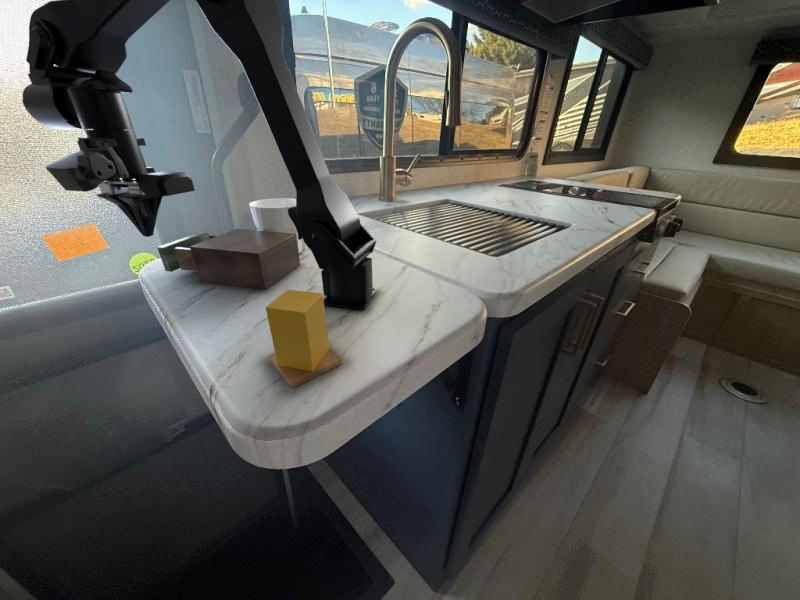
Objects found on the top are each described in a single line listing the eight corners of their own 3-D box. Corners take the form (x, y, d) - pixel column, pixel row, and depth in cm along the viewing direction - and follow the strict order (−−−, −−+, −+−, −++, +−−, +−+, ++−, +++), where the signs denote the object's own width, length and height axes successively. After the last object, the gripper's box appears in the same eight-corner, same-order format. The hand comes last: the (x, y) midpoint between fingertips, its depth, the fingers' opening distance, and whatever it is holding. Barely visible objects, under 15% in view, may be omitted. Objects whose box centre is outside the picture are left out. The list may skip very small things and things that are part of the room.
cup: (273, 242, 71) (265, 197, 66) (316, 245, 70) (310, 199, 65) (249, 257, 62) (238, 206, 58) (296, 260, 61) (289, 209, 56)
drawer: (159, 270, 53) (150, 246, 51) (203, 252, 62) (197, 230, 60) (221, 278, 51) (214, 253, 49) (258, 257, 60) (254, 235, 58)
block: (329, 348, 35) (323, 293, 32) (313, 371, 32) (304, 312, 29) (296, 343, 36) (287, 289, 33) (277, 365, 33) (265, 307, 29)
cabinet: (200, 282, 52) (189, 246, 49) (244, 259, 61) (237, 228, 58) (266, 290, 49) (258, 253, 47) (300, 265, 59) (296, 233, 56)
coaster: (316, 340, 38) (315, 335, 37) (342, 363, 34) (342, 358, 34) (268, 360, 34) (267, 355, 34) (292, 388, 30) (291, 383, 30)
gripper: (-15, 128, 40) (48, 246, 47) (102, 129, 36) (150, 257, 44) (82, 129, 49) (121, 227, 57) (181, 131, 46) (210, 235, 53)
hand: (148, 236), depth 52 cm, fingers closed
